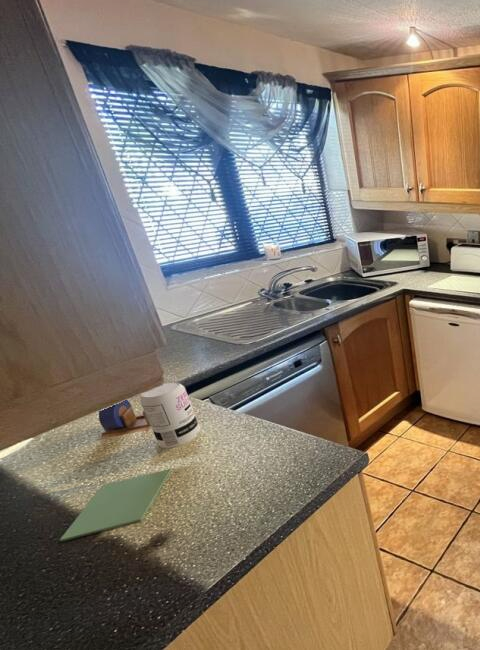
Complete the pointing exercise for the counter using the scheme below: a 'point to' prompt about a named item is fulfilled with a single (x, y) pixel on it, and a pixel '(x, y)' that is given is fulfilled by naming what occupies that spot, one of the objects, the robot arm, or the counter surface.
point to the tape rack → (129, 424)
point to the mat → (117, 505)
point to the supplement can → (170, 414)
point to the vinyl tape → (114, 416)
